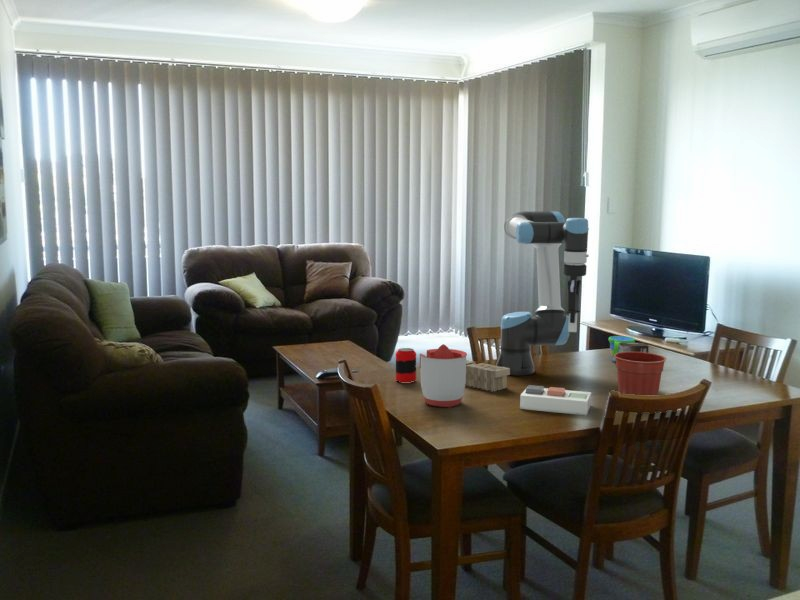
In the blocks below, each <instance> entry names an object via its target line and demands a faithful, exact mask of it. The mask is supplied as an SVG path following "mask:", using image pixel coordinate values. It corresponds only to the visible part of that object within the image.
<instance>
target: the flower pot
mask: <svg viewBox="0 0 800 600" xmlns="http://www.w3.org/2000/svg"><path fill="white" fill-rule="evenodd" d="M614 357H615V358H616V363H615V366H616V368H617V370H616V371H617V393H618V392H620V393H621V394H635V395H658V396H659V391H660V384H661V378H662V373H663V370H664V367H665V362H667V358H666V357H665V356H664V355H661V354H657V353H652V352H648V353H645V352H620V353H616V354H614Z"/></svg>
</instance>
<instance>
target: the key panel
mask: <svg viewBox="0 0 800 600" xmlns="http://www.w3.org/2000/svg"><path fill="white" fill-rule="evenodd" d="M548 389H549V388H548V387H544V392H543V394H542V395H539V394H528V393H526V388H525V389H524V390H523V391H522V392H521V393H520V397H519V400H520V401H519V402H520V403H519V409H520V410H528V411H539V412H549V413H558V414H559V413H560V414H567V415H568V414H570V415H580V416H588V413H589V411H590V409H591V406H592V392H591V391H590V392H589V391H580V390H569V389H565V395H564V397H561V396H550V395H547V390H548ZM571 394H583V395H587V397H586V399H583V398H572V397H570V395H571Z"/></svg>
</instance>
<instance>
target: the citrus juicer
mask: <svg viewBox="0 0 800 600" xmlns="http://www.w3.org/2000/svg"><path fill="white" fill-rule="evenodd" d="M467 353H468V352H466V351H464V350H461V349H460V350H459V349H452V348H449V347H448V346H447V345H446V344H441V345H440V346H439V347H438V348H433V349H426V355H425V354H423V353H419V362H416V368H417V367H419V369H420V386H421V391H422V395H423V400H424V402H425V403H426V404H427V405H428V404H429V405H428V406H433V407H445V408H451V407H454V406H457V405H460V404H461V402H462V401H463V397H464V392H465V388H466V385H465V384H466V360H467V356H468V354H467Z"/></svg>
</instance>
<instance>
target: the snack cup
mask: <svg viewBox="0 0 800 600" xmlns="http://www.w3.org/2000/svg"><path fill="white" fill-rule="evenodd" d="M608 342H609V348H610V351H609V352H610V358H611V362H613V363H615V364H616V358H615V357H614V354H616V353H619V343H636V338H634V337H632V336H627V335H626V336H624V335H612V336H609V337H608Z"/></svg>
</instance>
